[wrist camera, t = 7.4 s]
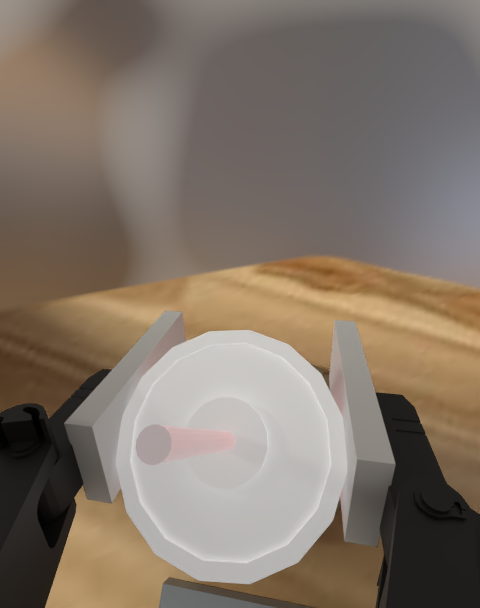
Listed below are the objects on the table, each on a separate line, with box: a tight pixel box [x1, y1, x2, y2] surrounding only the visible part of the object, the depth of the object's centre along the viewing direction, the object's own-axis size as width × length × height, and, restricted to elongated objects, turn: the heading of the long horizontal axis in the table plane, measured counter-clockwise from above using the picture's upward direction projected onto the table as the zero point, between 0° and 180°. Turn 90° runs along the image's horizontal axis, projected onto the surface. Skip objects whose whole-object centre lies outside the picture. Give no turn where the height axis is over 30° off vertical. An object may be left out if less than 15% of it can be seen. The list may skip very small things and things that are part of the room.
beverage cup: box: [116, 330, 347, 584], centre depth 11 cm, size 6×6×14 cm
